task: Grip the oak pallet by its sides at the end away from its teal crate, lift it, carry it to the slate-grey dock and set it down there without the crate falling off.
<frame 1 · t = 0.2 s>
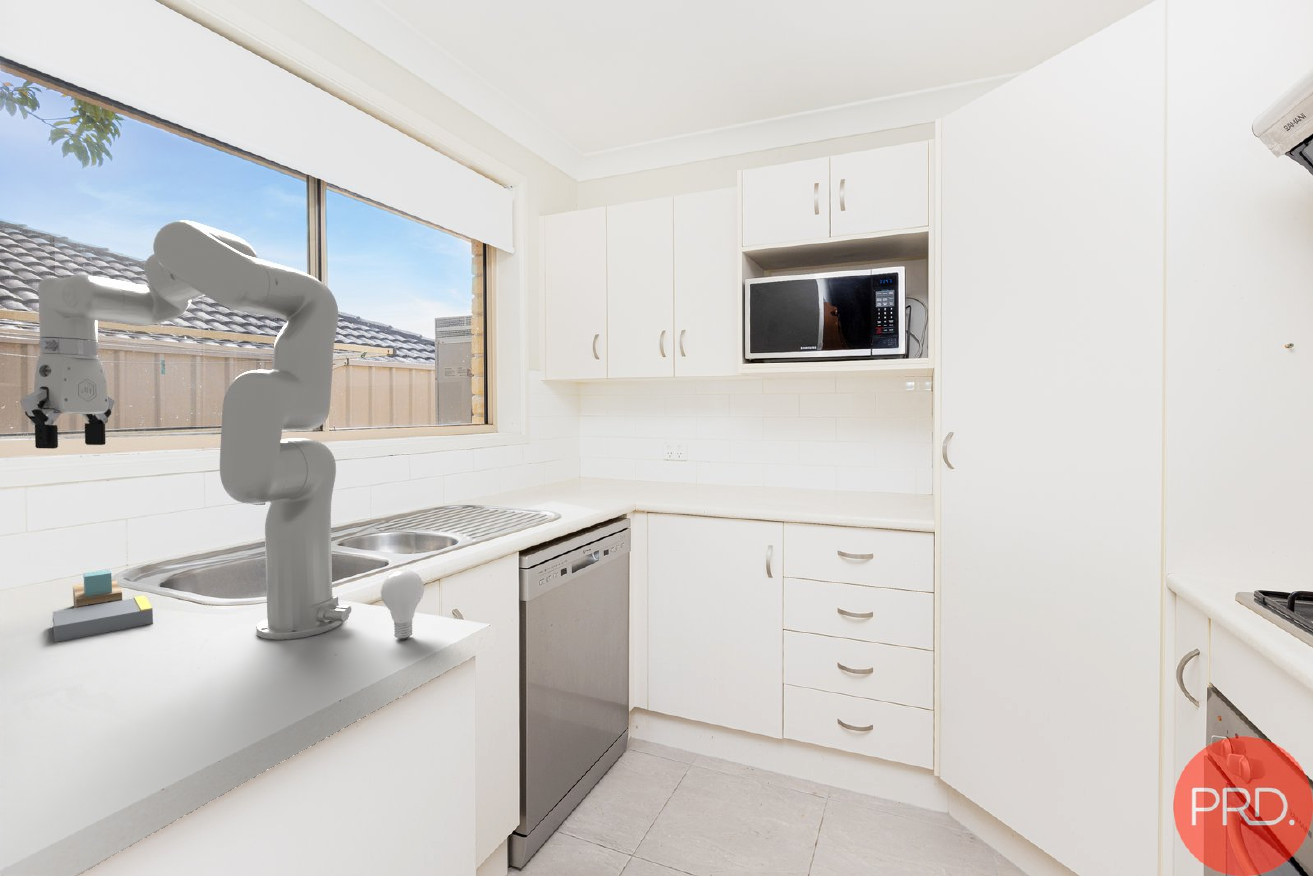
hand: (72, 446, 111), 30 cm above the counter, tool pointing down, fingers open, 9 cm apart
lightbulb: (403, 640, 99), on the counter
teal crate: (98, 592, 111), point 4 cm above the counter, touching pallet
pallet: (97, 610, 113), on the counter, touching teal crate
dock: (103, 624, 105), on the counter
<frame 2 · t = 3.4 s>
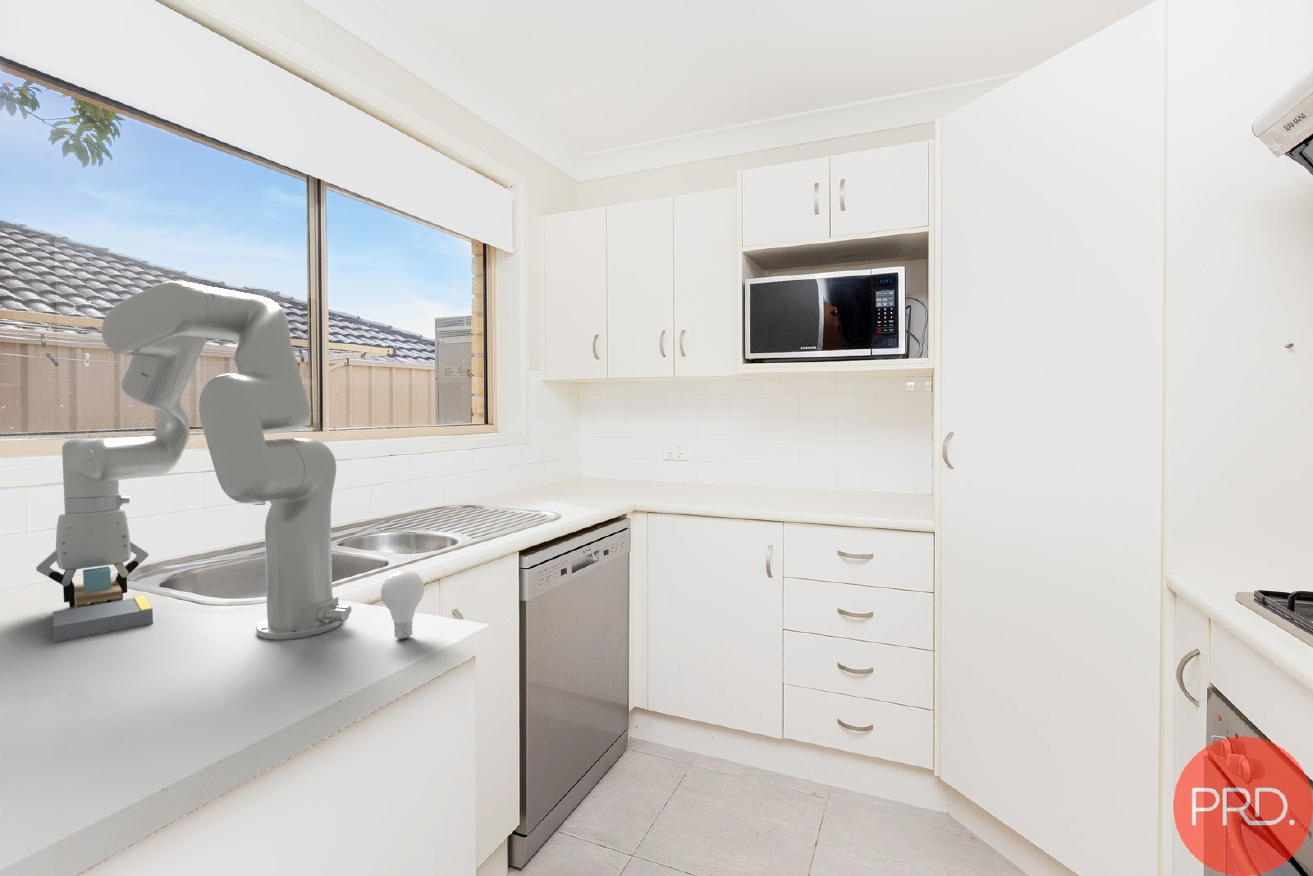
hand: (96, 600, 115), 1 cm above the counter, tool pointing down, fingers closed on pallet, 6 cm apart
teal crate: (97, 589, 112), point 4 cm above the counter, touching pallet
pallet: (97, 609, 113), on the counter, touching gripper, teal crate
everything else where it was.
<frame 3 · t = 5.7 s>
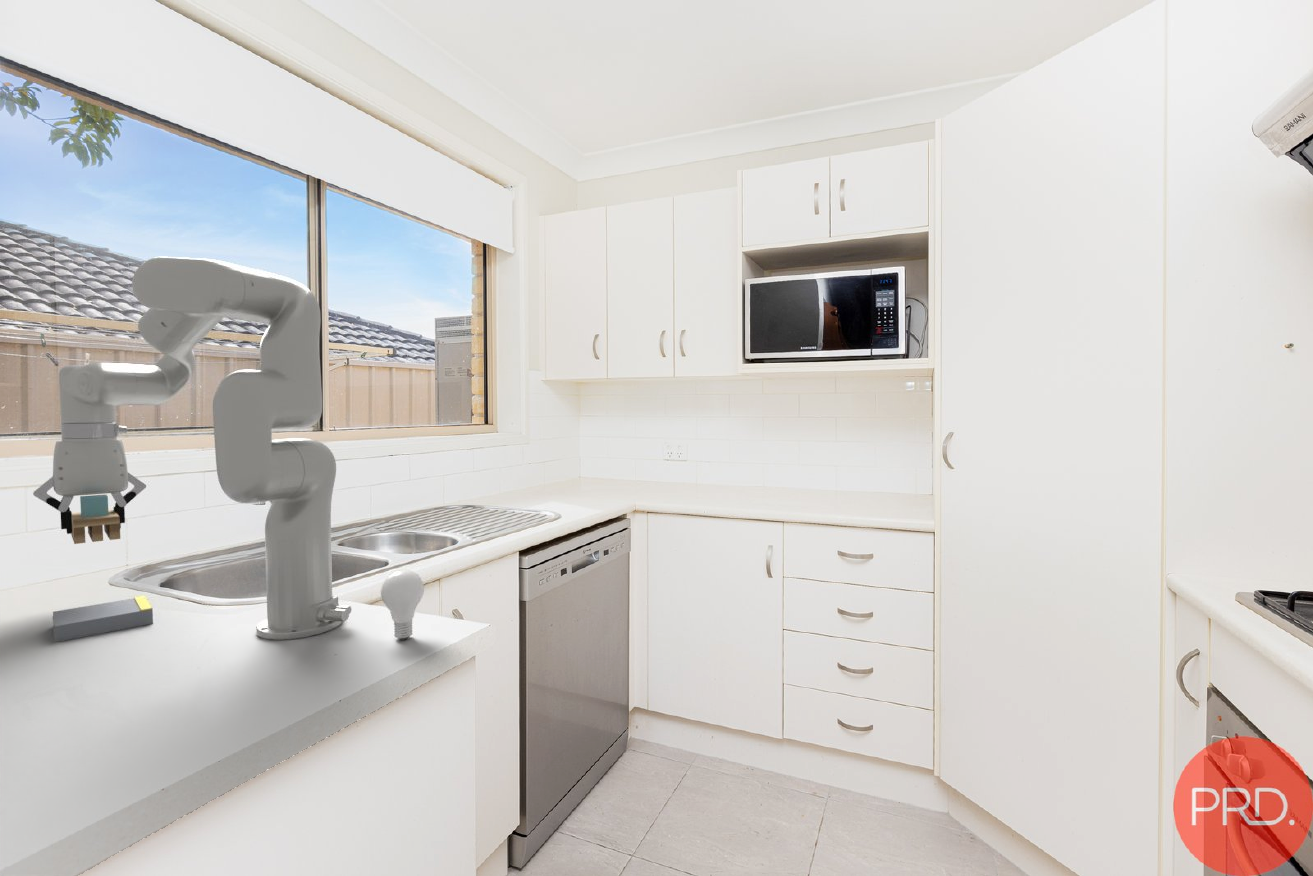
hand: (94, 529, 115), 14 cm above the counter, tool pointing down, fingers closed on pallet, 6 cm apart
teal crate: (94, 515, 112), point 17 cm above the counter, touching pallet
pallet: (95, 536, 113), point 13 cm above the counter, touching gripper, teal crate
everything else where it was.
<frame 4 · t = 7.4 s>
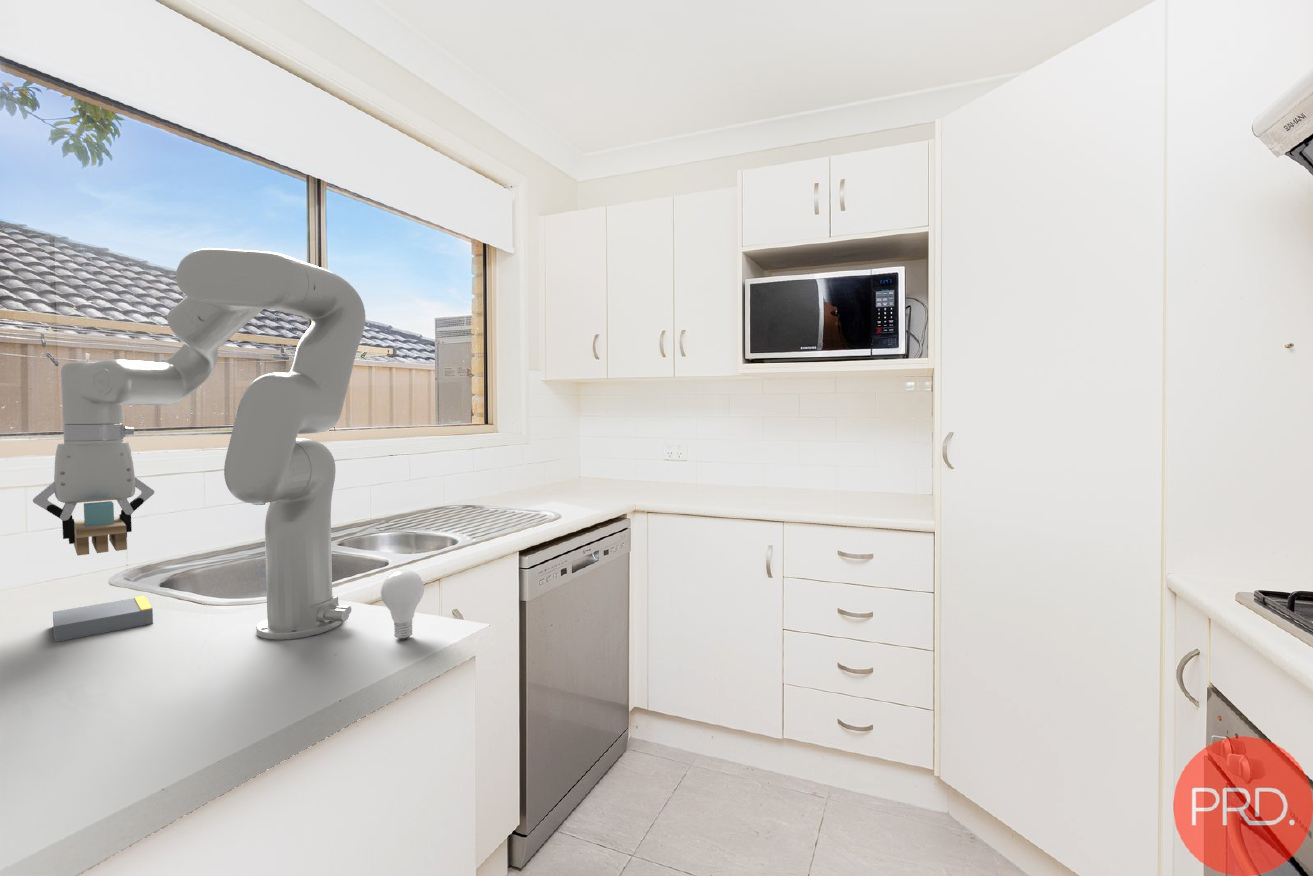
hand: (98, 538, 106), 14 cm above the counter, tool pointing down, fingers closed on pallet, 6 cm apart
teal crate: (99, 524, 103), point 17 cm above the counter, touching pallet
pallet: (99, 546, 104), point 13 cm above the counter, touching gripper, teal crate
everything else where it was.
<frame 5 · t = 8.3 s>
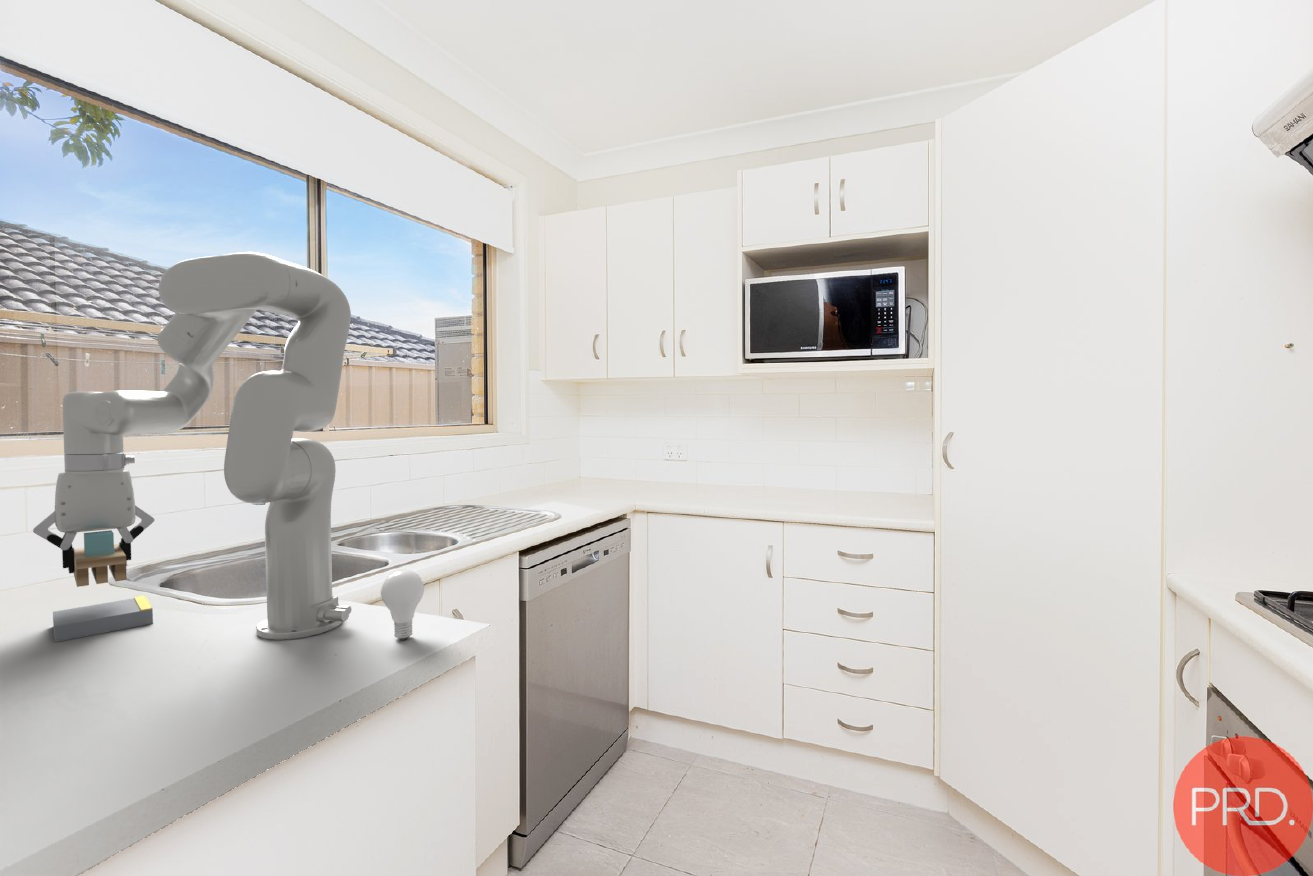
hand: (97, 567, 106), 9 cm above the counter, tool pointing down, fingers closed on pallet, 6 cm apart
teal crate: (99, 553, 103), point 12 cm above the counter, touching pallet
pallet: (99, 576, 104), point 8 cm above the counter, touching gripper, teal crate
everything else where it was.
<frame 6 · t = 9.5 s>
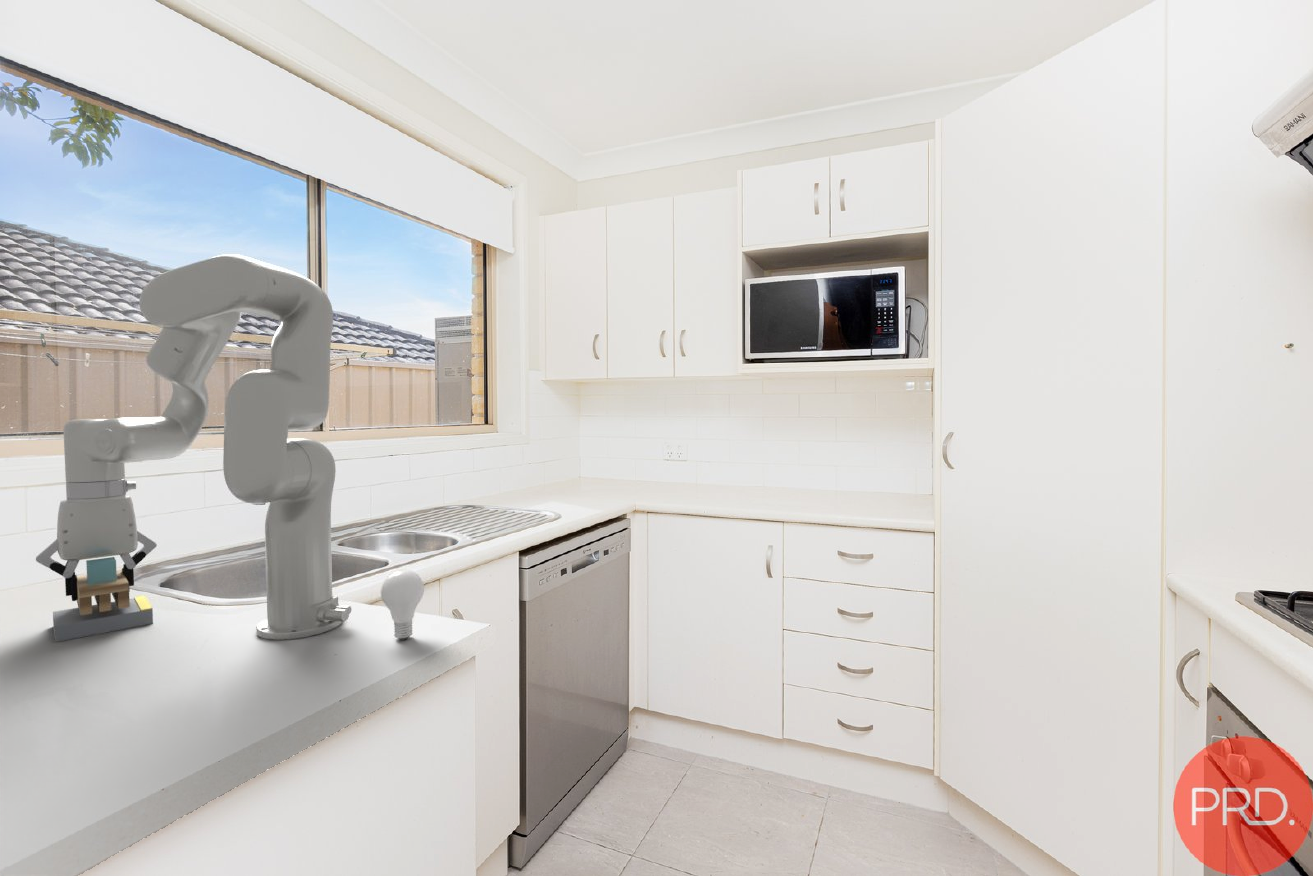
hand: (100, 594, 107), 5 cm above the counter, tool pointing down, fingers closed on pallet, 6 cm apart
teal crate: (102, 581, 104), point 8 cm above the counter, touching pallet
pallet: (102, 603, 105), point 4 cm above the counter, touching gripper, teal crate
everything else where it was.
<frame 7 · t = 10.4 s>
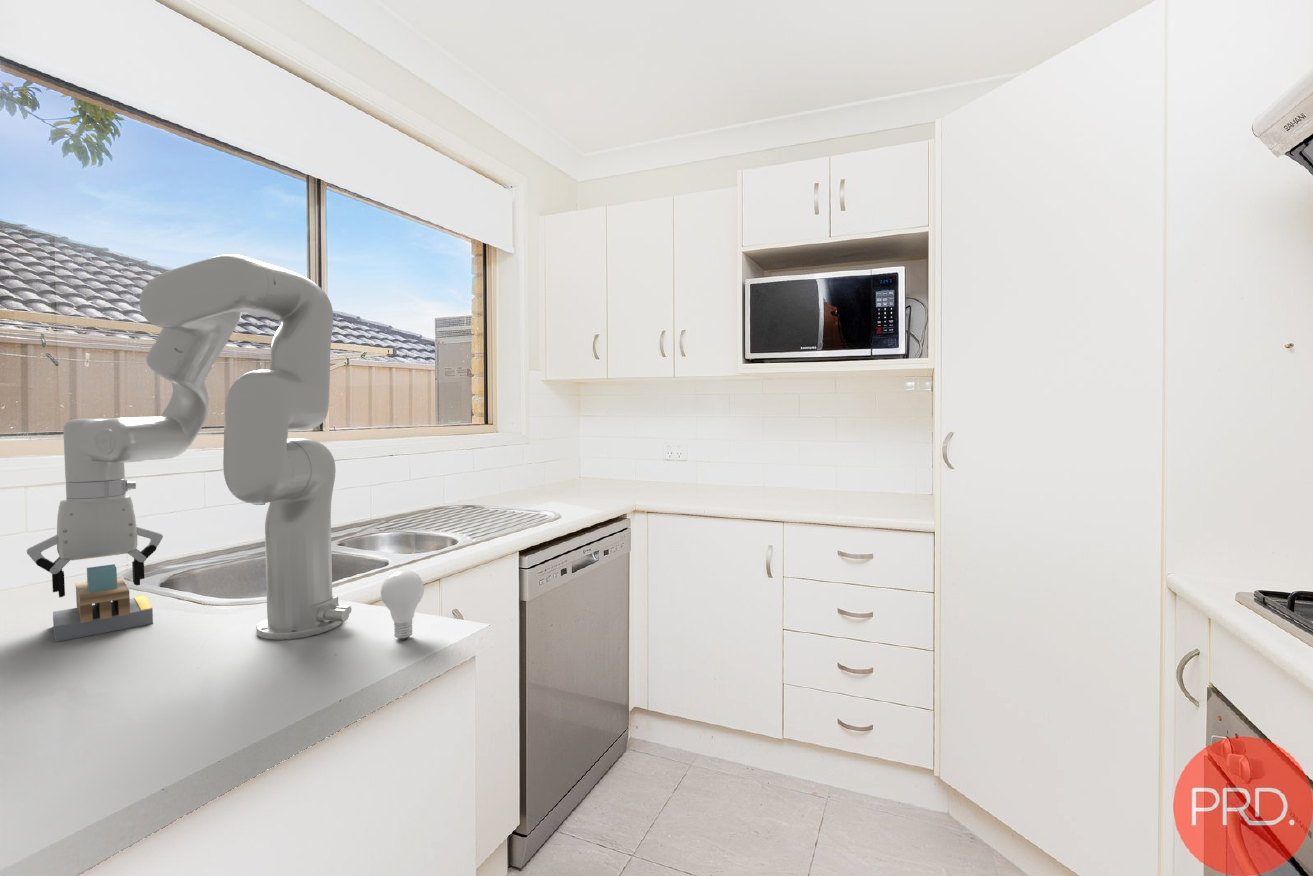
hand: (100, 589, 107), 5 cm above the counter, tool pointing down, fingers open, 9 cm apart
teal crate: (102, 588, 104), point 6 cm above the counter, touching pallet
pallet: (102, 610, 105), point 2 cm above the counter, touching dock, teal crate
everything else where it was.
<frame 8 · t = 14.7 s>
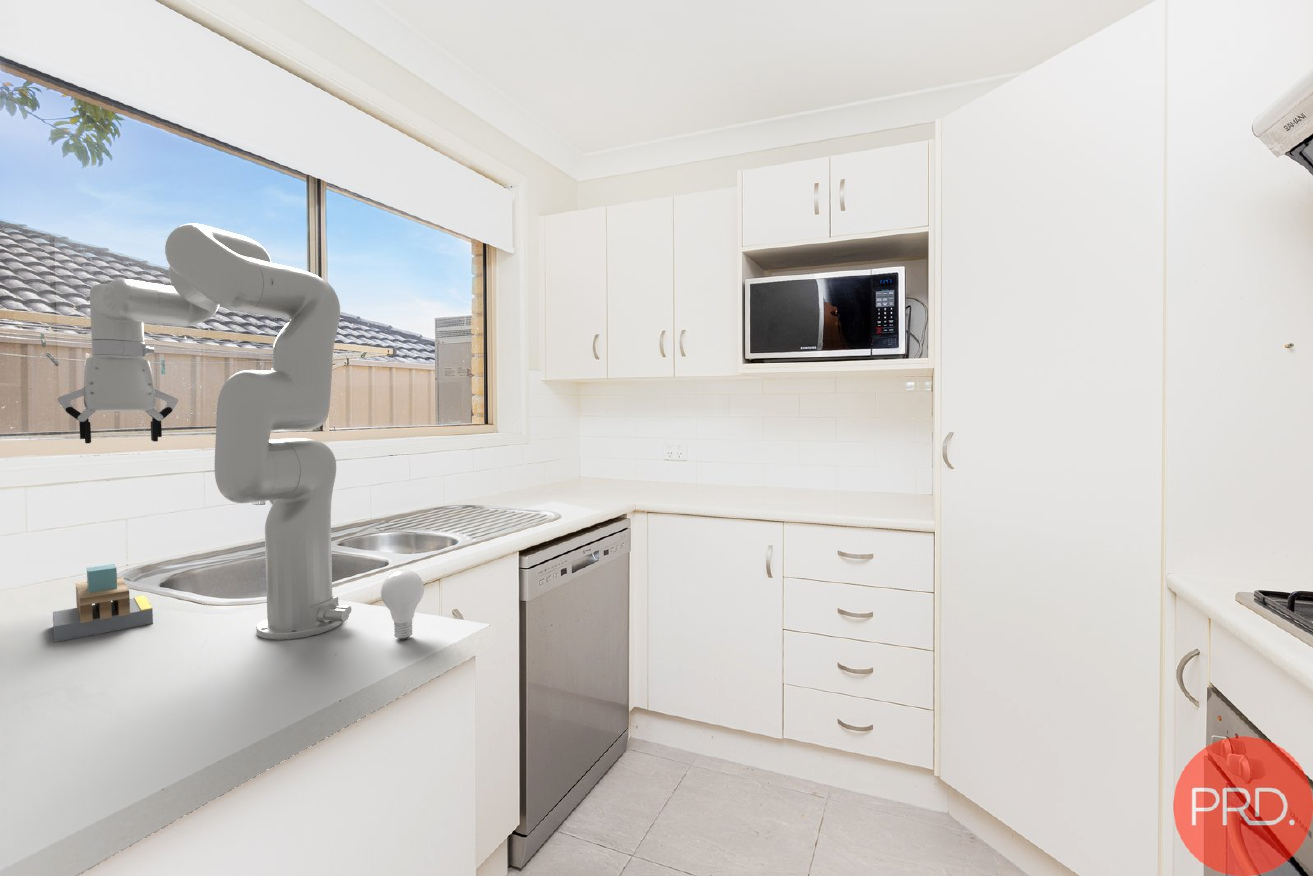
hand: (122, 442, 118), 30 cm above the counter, tool pointing down, fingers open, 9 cm apart
nothing on the counter moved.
at the end: pallet inside the target area on the dock (0.0 cm from its centre), point 2.5 cm above the dock's base; teal crate point 6.5 cm above the counter; teal crate 1.3 cm from the pallet (horizontally) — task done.
